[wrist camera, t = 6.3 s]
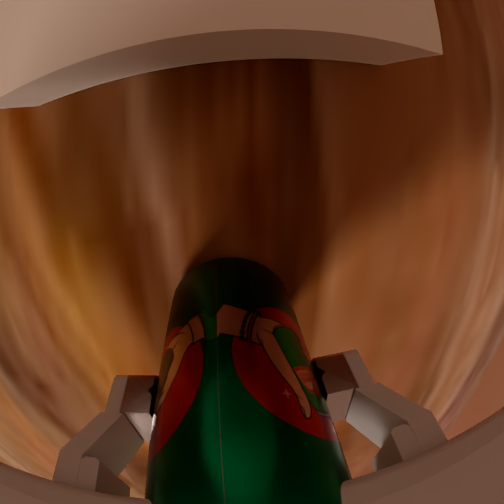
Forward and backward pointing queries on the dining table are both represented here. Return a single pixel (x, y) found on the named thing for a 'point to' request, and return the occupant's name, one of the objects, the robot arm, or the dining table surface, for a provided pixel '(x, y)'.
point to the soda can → (239, 398)
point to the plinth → (194, 38)
